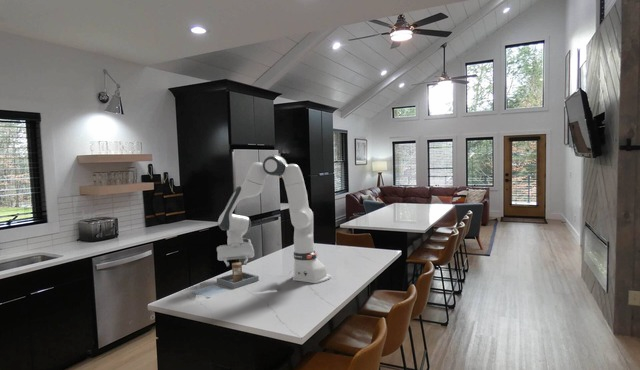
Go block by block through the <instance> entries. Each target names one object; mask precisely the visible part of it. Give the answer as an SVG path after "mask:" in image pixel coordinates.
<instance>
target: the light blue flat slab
mask: <svg viewBox="0 0 640 370" xmlns="http://www.w3.org/2000/svg"><path fill="white" fill-rule="evenodd" d="M226 291H228V289H227V288H223V287H220V286H217V285H215V284H211V285H208V286H205V287H201V288H197V289H194V290H192V294H194V295H197V296H198V294H199V295H202V296H204V297H205V298H206V299H210V298H211V296H213V295H214V296H215V295H216V294H219V293H222V292H223V293H224V292H226Z"/></svg>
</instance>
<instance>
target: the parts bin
mask: <svg viewBox="0 0 640 370" xmlns="http://www.w3.org/2000/svg"><path fill="white" fill-rule="evenodd" d="M255 282H259V275H256V274H252V273H249V272H244V271H242V281H239V282H235V283H233V273H231V274H226V275H224V276H221V277H217V278H216V284H219V285H222V286H225V287H228V288H231V289H236V288H240V287H243V286H247V285H249V284H252V283H255Z"/></svg>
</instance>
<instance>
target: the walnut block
mask: <svg viewBox="0 0 640 370" xmlns="http://www.w3.org/2000/svg"><path fill="white" fill-rule="evenodd" d="M242 267H243V266H242V262H241V261H239V262H231V269H232V270H231V271H232V273H231V274H233V283H235V282H239V281H242V272H243V268H242Z"/></svg>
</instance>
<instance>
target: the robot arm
mask: <svg viewBox="0 0 640 370" xmlns="http://www.w3.org/2000/svg"><path fill="white" fill-rule="evenodd" d="M269 176H276V177H281V178H282V180H283V183H284V188H285V191H286V196H287V201H288V211H289V215H290V221H291V222H290V223H291V225H292V226H293V229H294V231H293V251H294V252H293V258H294V263H293V274H292V281H298V282H303V283H311V284H318V283H322V282H325V281H328V280H330V279H331V278H332V275H331V274H329V273H328V272H327V267H326V265H325V264H323V262H321V261H320V260H319V259H318V255H319V254H318V252H316V251H315V246H314V244H315V243H314V211H312V209H311V208H310V206H309V200H308V191H307V189H306V184H305V180H304V176H303V172H302V170H301V168H300V166H299V165H298V164H296V163H289V164H288V162H287V160H286V159H285V158H284V157H283V156H281V155H269V156H267V157H266V158H265V159H264V161H263V162H261V161H259V162H258V161H256V162H253V163H252V164H251V165H250V167H249V169H248V172H247V173H246V176H245V179H244V182H243V183H242V184H241V185H239V186H237V187H235V189H234V191H233V192H232V194H231V196H230V198H229V200H228V202H227V203H226V206H225V208H224V209H223V211H222V212H221V213H220V214H219V218H218V220H217V225H218V227H219V229H221V231H226V236H227V240H226V241H227V244H222V245H219V246H217V247H216V252H217V260H218V261H221V262H222V261H223V262H224V263H225V265H226V267H228V268H229V267H230V262H229V261H232V260H242V259H243V260H244V259H245V260H244V261H243V266H246V265H248V264H247V262H248V261H249V259H252V258H255V249H254V246H253V244H252V241H251V239H249V238H244V237H243V236H245V235H246V234H247V233H248V232H249V231H250V230H251V227H252V221H251V219H250V217H249V216H246V215H240V214H235V213H233V212H234V211H235V208H236V206H237V205H238V203H240V201H242V200H244V199H248V198H254V197H256V196H259V195H260V194H261V193H262V192H263V190H264V188H265V187H264V186H265V183H266V180H267V179H268V177H269Z"/></svg>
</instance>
